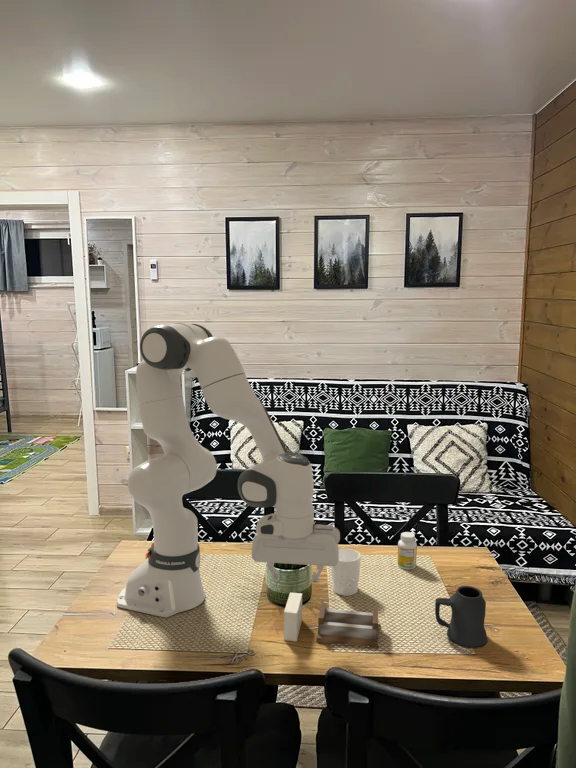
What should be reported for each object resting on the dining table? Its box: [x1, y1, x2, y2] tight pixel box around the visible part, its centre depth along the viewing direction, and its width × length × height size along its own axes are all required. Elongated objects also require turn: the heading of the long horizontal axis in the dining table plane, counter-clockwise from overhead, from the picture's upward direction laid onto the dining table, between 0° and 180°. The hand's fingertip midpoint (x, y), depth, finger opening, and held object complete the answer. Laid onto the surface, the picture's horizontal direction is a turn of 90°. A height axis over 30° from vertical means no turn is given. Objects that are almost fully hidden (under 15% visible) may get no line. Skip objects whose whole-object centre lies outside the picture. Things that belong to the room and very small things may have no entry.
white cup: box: [331, 548, 362, 597], centre depth 155 cm, size 8×8×10 cm
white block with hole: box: [283, 591, 303, 642], centre depth 137 cm, size 9×4×7 cm, turn 171°
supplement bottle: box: [397, 531, 418, 571], centre depth 169 cm, size 5×5×10 cm
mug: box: [434, 585, 488, 649], centre depth 134 cm, size 12×9×11 cm
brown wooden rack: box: [316, 602, 380, 648], centre depth 136 cm, size 14×10×5 cm
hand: (295, 580), depth 135 cm, fingers open, 8 cm apart
